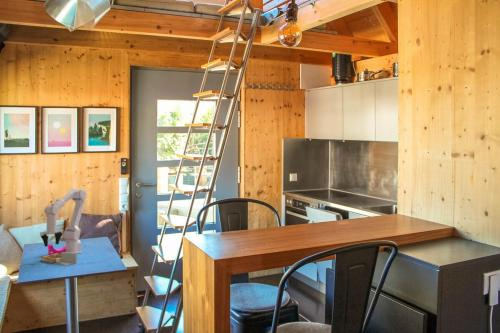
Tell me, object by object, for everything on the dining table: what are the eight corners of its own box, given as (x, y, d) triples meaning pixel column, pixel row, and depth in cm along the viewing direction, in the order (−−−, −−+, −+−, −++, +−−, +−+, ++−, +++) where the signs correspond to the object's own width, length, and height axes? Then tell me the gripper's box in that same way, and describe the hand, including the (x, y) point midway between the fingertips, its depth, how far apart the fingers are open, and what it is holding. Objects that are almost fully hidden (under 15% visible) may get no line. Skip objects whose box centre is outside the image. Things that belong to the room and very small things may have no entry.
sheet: (62, 261, 280) (62, 252, 280) (77, 262, 278) (77, 252, 278) (61, 262, 279) (61, 252, 279) (75, 263, 277) (75, 253, 277)
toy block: (70, 252, 311) (70, 241, 310) (72, 253, 306) (72, 242, 305) (47, 254, 302) (47, 243, 302) (49, 256, 297) (49, 245, 297)
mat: (71, 260, 284) (71, 260, 284) (79, 262, 280) (79, 261, 280) (58, 263, 277) (58, 262, 277) (66, 265, 273) (66, 264, 273)
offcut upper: (61, 254, 291) (61, 252, 291) (68, 256, 287) (68, 253, 287) (58, 255, 289) (58, 253, 289) (65, 256, 285) (65, 254, 285)
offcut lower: (59, 256, 292) (59, 254, 292) (69, 258, 287) (69, 256, 287) (56, 257, 290) (56, 255, 290) (65, 259, 285) (65, 257, 285)
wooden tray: (59, 256, 295) (59, 252, 295) (72, 259, 287) (72, 255, 287) (41, 260, 284) (41, 256, 284) (54, 263, 276) (54, 259, 276)
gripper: (58, 222, 292) (58, 242, 292) (37, 225, 280) (37, 246, 280) (64, 223, 288) (64, 243, 288) (43, 226, 276) (43, 247, 276)
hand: (51, 245), depth 284 cm, fingers open, 7 cm apart
